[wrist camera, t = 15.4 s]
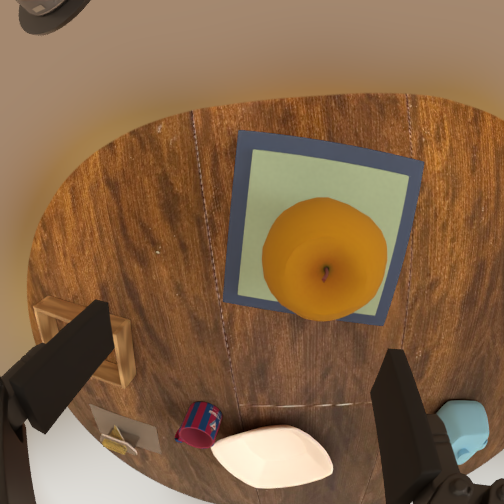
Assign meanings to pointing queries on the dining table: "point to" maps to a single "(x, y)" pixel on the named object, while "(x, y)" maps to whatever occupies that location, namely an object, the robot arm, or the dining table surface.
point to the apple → (324, 259)
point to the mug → (200, 425)
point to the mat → (307, 187)
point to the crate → (324, 151)
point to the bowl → (273, 457)
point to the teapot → (465, 427)
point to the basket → (121, 332)
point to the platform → (124, 432)
